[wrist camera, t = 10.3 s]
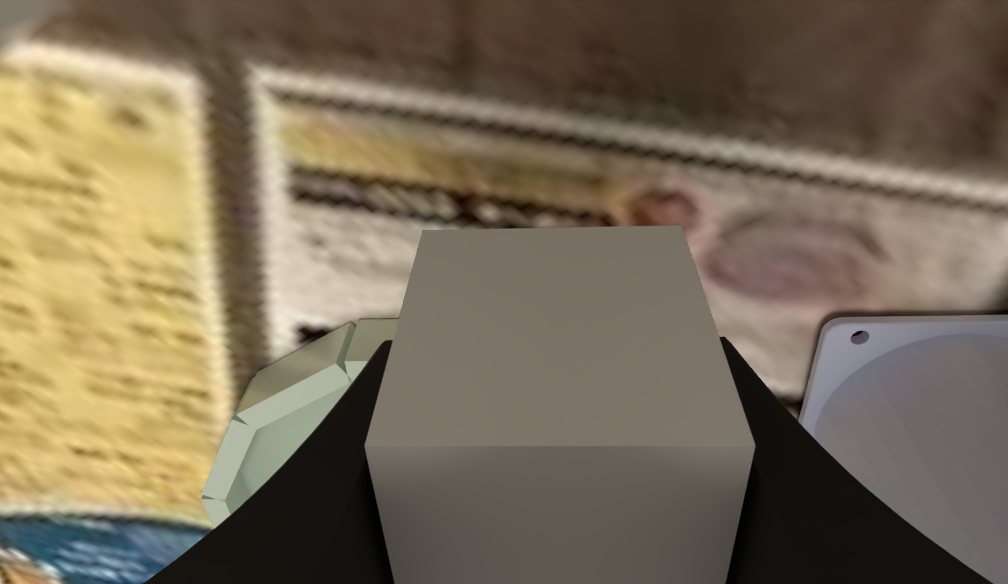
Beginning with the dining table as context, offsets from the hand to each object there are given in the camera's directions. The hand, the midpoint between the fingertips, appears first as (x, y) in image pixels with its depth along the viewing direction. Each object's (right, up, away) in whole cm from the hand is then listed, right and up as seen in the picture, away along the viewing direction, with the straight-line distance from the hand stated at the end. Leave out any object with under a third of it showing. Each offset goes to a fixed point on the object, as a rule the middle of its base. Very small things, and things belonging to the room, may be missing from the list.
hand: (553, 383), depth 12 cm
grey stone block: (0, +1, +1) cm, 2 cm away
